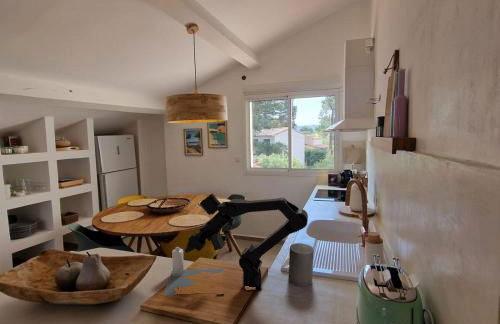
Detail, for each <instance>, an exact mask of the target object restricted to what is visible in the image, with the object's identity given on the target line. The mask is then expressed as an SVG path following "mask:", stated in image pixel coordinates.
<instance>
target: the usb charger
mask: <svg viewBox="0 0 500 324" xmlns="http://www.w3.org/2000/svg"><path fill="white" fill-rule="evenodd" d="M171 254H172V259H171V260H172V261H171V262H172V263H171V264H172V265H171V266H172V271H173V276H175V277H179V276H182V275H183V274H184V270H185V269H184V249H183V248H181V247H179V246H176V247H175V248H174V249H172V250H171Z"/></svg>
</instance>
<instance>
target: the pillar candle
mask: <svg viewBox="0 0 500 324" xmlns="http://www.w3.org/2000/svg"><path fill="white" fill-rule="evenodd" d="M314 250H315V249H314V246H312V245H310V244H307V243H302V242H301V243H300V242H298V243H297V242H296V243H292V244H291V245H290V246H289V254H288V255H289V258H288V259H289V262H288V264H289V266H288V281H289V282H290V283H291V284H293V285H294V286H298V287H307V286H310V285H311V284H312V283H313V276H314V274H313V272H314V252H315V251H314Z"/></svg>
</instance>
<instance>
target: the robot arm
mask: <svg viewBox="0 0 500 324" xmlns="http://www.w3.org/2000/svg"><path fill="white" fill-rule="evenodd" d="M198 205H199V206H200V207H201V209H202V210H203V211H204V212H205V213H206V214H207V216H213V217H211V218H210V219H209V220H207V221H206V222H205V223H204V225H202V227H200V229H199V232H194V233H193V234H191V235H190V236H189V237H188V241H187V244H186V248H185V249H184V253H185V254H188V253H190V252H192V251H193V250H196V251H197V252H200V251H202V250H203V249H204V247H206V246H207V241H208V242H210V243H211V245H212V247H213V250H214V251H218V250H222V249H223V248H224V247H225V245H226V240H227V239H228V237H227V236H228V235H226V234H223V233H221V231H222V229H223V228H225V227H226V226H227V224H229V226H231V227H232V226H233V225H235V223H236V221H235V220H236V217H240V216H243V215H245V214H248V213H256V212H257V213H258V212H259V213H260V212H269V211H271V212H272V211H279V212H280V213H281V214H282V215H283V216H284V217H285V218H286V221H285V222H284V223H283V224H282V225H281V226H280V227H278V228H277V229H276V230H275V231H273V232H272V233H270V234H269V235H268V236H267V237H266V238H265V239H263V240H262V241H260V242H259V243H258V244H257V245H253V243H250V245H249V246H247V247H246V248H244V249H243V251H242V253H241V254H240V255H239V256H240V258H239V259H238V265H239V267H240V268H241V269H242V272H243V273H242V286H243V285H244V286H249V287H256V290H255V291H262V290H263V287H262V271H261V267H262V264H263V261H262V260H261V258H262V257H263V255H265V254H267V253H268V252H269V251H270V250H271V249H272V248H274V247H275V246H276V245H278V244H279V243H280V242H282V241H283V240H284V239H285V238H288V237H287V236H289V235H290V234H294V233H297V232H299V231H302V230H303V229H305V228H306V227H307V226H308V221H309V214H308V212H307V210H305V209H303V208H299V207H298V206H296V205H295V204H293V203H292V202H291V201H289V200H287V199H286V198H285V197H277V198H266V199H265V198H264V199H256V200H246V199H242V198H241V199H240V198H233V199H231V200H230V201H222V202H221V201H220V200H219V199H218V198H217V197H216V196H215V194H214V193H213V192H212V193H210V194H209V195H208V196H207V197H205V198H203V199H202V200H201V202H199V204H198ZM215 213H216V214H215ZM244 286H243V287H244Z"/></svg>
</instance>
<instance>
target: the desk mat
mask: <svg viewBox="0 0 500 324" xmlns="http://www.w3.org/2000/svg"><path fill="white" fill-rule="evenodd" d="M203 271H204V272H205V273H206V272H207V273H208V272H209V273H210V272H211V274H212V273H213V274H214V273H220V272H223V271H224V272H225V268H210V269H209V268H208V269H207V268H206V269H184V274H183V275H182V276H179V277H175V276H173V270H171V273H170V276H169V278H168V281H167V283H166V286H165V289H164V291H163V294H165V295H164V296H168V295H169V296H180V295H179V294H178V295H177V294H175V293H176V291H175V290H174V288H177V289H178V290H179V286H181V287H182V288H183V287H188V286H192V284H191V282H195V281H193V280H192V281H190V280H189V279H188V278H183V277H188V276H191V275H193V274H194V276H195V274H200V272H201V273H202V272H203ZM196 284H197V283H196ZM193 285H194V286H195V284H194V283H193ZM185 290H186V289H185ZM185 290H184V291H185ZM181 291H182V290H181ZM181 291H180V292H181Z"/></svg>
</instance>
